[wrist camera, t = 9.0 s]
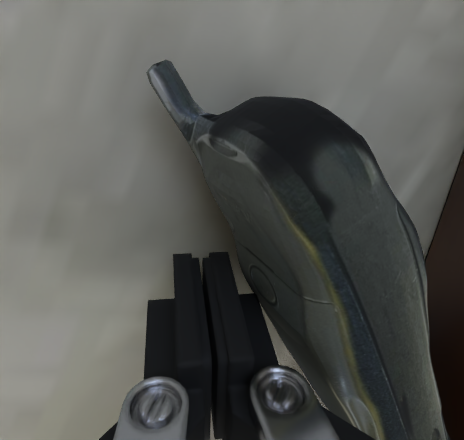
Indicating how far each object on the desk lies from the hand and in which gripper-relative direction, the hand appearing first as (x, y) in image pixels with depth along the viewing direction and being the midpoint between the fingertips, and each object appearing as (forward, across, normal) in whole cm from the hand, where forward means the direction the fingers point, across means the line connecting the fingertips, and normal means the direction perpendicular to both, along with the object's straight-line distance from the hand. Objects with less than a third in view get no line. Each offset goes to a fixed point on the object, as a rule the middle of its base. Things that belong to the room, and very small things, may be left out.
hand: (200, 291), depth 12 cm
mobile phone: (+1, -3, 0) cm, 3 cm away
